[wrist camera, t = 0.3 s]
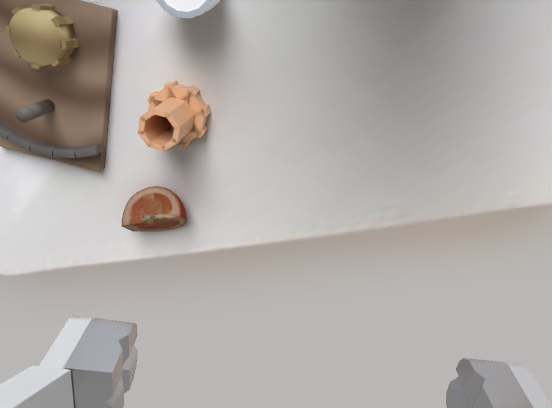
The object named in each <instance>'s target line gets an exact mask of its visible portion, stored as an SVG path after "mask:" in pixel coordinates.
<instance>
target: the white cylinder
mask: <svg viewBox="0 0 552 408" xmlns="http://www.w3.org/2000/svg"><path fill="white" fill-rule="evenodd" d="M156 1H157V2H158V3H159V4H160V6H161V7H162V8H163V9H164V10H165V11H167V12H168V13H170V14H172V15H174V16H175V17H180V18H189V19H190V18H193V17H196V16H199V15H202V14H203V13H205V12H207V11H209V10H210V9H212V8H213V7H214V6H215V5H216V4H218V3H219V2H220V0H156Z"/></svg>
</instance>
